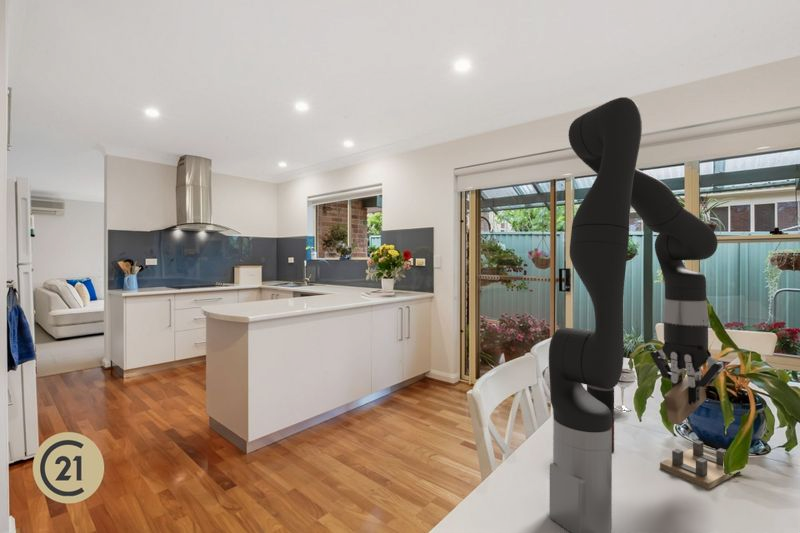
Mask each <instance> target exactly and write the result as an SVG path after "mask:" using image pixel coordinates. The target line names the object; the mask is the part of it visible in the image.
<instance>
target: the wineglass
mask: <svg viewBox="0 0 800 533" xmlns="http://www.w3.org/2000/svg"><path fill="white" fill-rule="evenodd" d="M631 370H632V369H628V368H624V367H622V373H621V377H620V380H619V382H618V384H617V385H616V386H618V388H619V389H620V391H621V392H620V393H621V394H620V395H621V396H620V397H621V398H620V399H621V405H615V406H616V408H618V409H621V410H622V409H623V410H624V409H625V410H628V408H629V407H628V406H624V397H625V389H627V388H630V387H631V386H632V385H634V383H635V382H636V376H635V375H634V374H635V373H636V372H635V370H632V372H631ZM627 407H628V408H627Z"/></svg>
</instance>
